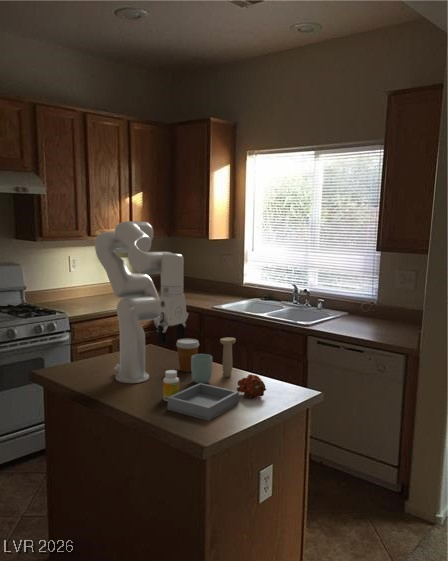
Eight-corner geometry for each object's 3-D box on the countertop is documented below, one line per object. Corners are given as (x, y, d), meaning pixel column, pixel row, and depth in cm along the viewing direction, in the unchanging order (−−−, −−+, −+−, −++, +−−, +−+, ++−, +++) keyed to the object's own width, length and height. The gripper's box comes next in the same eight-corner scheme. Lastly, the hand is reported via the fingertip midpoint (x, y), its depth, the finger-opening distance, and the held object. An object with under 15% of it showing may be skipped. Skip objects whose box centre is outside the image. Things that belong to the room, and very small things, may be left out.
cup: (202, 377, 195) (202, 352, 194) (215, 382, 189) (216, 356, 188) (187, 381, 189) (187, 356, 188) (200, 386, 184) (201, 360, 183)
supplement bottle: (172, 403, 167) (172, 374, 166) (159, 399, 170) (159, 372, 169) (182, 398, 171) (182, 371, 170) (169, 395, 174) (169, 368, 173)
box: (167, 409, 161) (167, 397, 161) (199, 393, 176) (199, 382, 176) (208, 420, 153) (208, 408, 152) (238, 403, 168) (238, 391, 167)
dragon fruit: (263, 406, 169) (238, 402, 178) (275, 387, 174) (250, 384, 183) (251, 390, 166) (226, 386, 174) (264, 371, 170) (239, 368, 179)
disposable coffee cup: (171, 369, 205) (171, 340, 204) (189, 364, 212) (189, 337, 210) (185, 374, 198) (185, 345, 197) (203, 370, 205) (204, 341, 203)
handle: (237, 376, 198) (238, 338, 196) (225, 379, 193) (226, 341, 191) (228, 373, 201) (229, 336, 199) (217, 376, 197) (217, 339, 195)
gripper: (164, 294, 157) (164, 347, 159) (196, 289, 172) (195, 337, 174) (146, 292, 161) (146, 344, 163) (178, 287, 176) (178, 334, 178)
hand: (171, 340), depth 168 cm, fingers open, 9 cm apart
